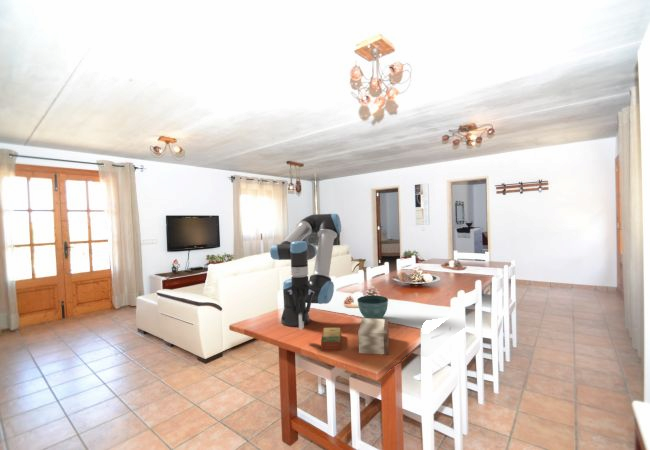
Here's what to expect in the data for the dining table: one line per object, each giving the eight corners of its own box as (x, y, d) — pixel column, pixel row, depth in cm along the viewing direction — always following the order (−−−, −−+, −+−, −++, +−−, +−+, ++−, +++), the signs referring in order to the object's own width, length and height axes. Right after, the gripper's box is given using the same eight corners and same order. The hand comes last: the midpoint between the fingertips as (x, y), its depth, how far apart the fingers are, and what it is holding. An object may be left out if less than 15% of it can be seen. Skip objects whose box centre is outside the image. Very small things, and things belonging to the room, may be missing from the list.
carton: (341, 336, 140) (340, 327, 140) (341, 351, 124) (340, 341, 124) (323, 336, 141) (323, 327, 141) (320, 351, 125) (320, 341, 125)
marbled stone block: (359, 352, 121) (358, 332, 121) (363, 336, 138) (362, 318, 138) (388, 354, 119) (387, 333, 119) (388, 337, 135) (388, 319, 135)
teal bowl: (380, 326, 149) (379, 305, 149) (352, 321, 159) (351, 300, 159) (393, 317, 162) (393, 297, 162) (367, 312, 172) (366, 294, 172)
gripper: (283, 277, 133) (284, 330, 133) (311, 277, 130) (313, 331, 130) (288, 274, 140) (290, 324, 140) (315, 274, 137) (317, 326, 137)
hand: (301, 328), depth 135 cm, fingers closed
